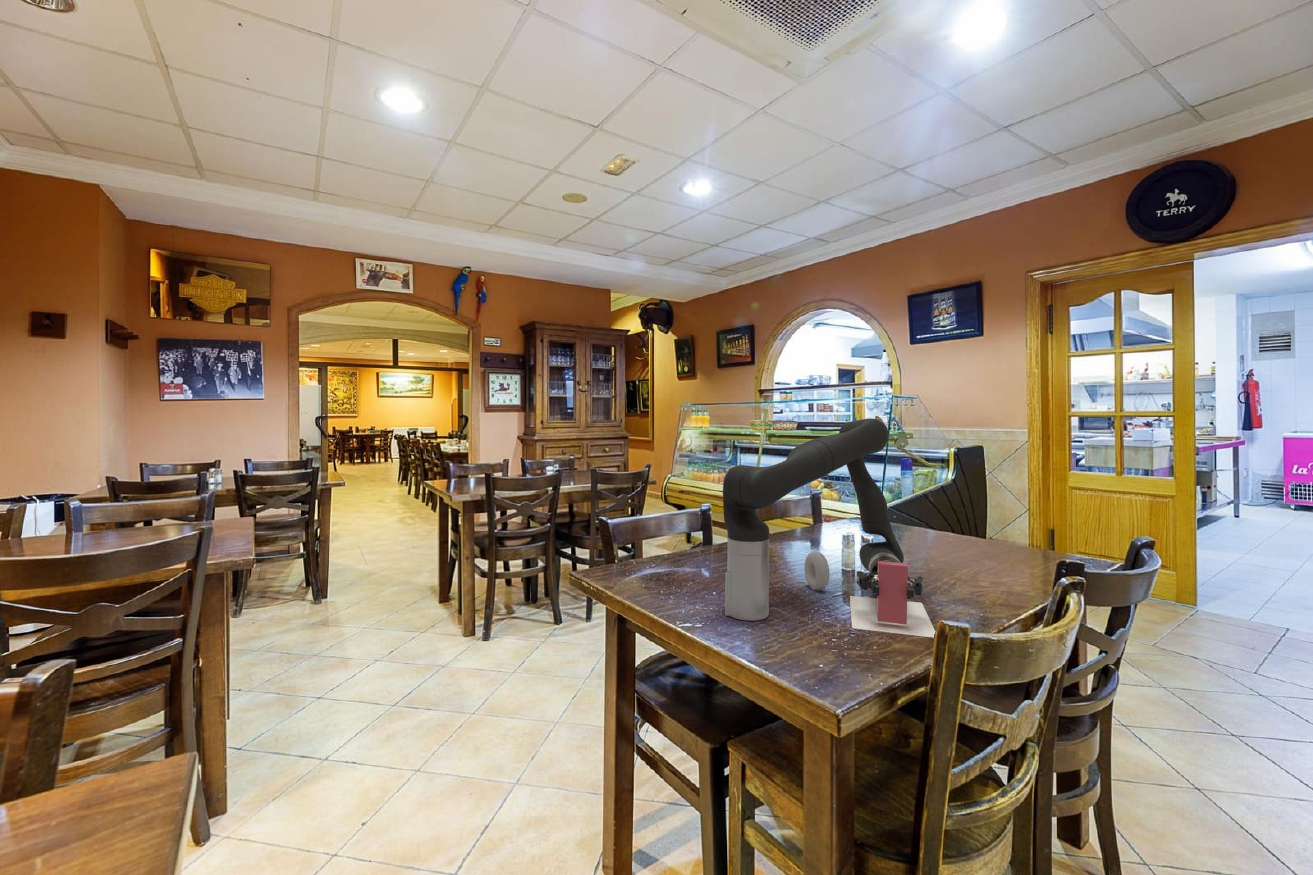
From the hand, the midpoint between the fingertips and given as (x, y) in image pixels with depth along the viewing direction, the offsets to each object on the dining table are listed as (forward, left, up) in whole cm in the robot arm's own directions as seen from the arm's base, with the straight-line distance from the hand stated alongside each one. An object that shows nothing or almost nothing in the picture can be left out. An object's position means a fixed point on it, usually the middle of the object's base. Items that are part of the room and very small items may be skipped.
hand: (893, 592), depth 110 cm
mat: (0, +10, -8) cm, 13 cm away
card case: (0, +2, -7) cm, 7 cm away
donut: (-16, +25, -9) cm, 31 cm away
